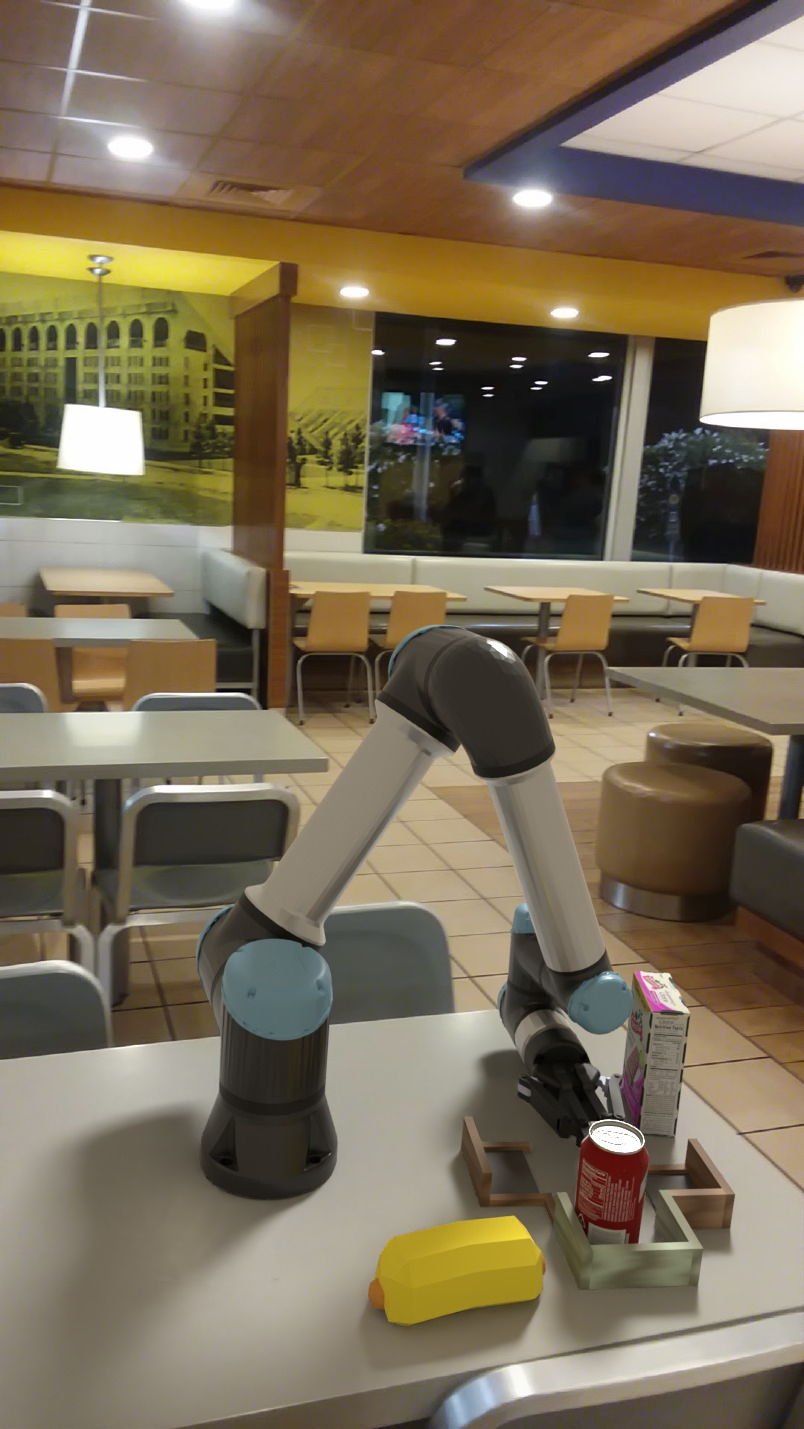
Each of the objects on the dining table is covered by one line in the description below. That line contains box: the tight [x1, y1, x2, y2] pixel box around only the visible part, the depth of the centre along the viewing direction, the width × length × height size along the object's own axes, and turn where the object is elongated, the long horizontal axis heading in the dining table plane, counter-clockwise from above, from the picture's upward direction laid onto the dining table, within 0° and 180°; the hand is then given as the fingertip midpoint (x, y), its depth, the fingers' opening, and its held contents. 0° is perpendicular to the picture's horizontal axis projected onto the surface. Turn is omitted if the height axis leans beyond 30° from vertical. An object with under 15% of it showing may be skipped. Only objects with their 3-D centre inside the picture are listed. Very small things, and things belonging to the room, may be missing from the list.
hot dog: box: [367, 1215, 547, 1327], centre depth 100 cm, size 18×7×8 cm
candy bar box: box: [621, 970, 691, 1138], centre depth 133 cm, size 11×5×16 cm, turn 179°
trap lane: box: [460, 1116, 736, 1291], centre depth 114 cm, size 26×23×4 cm
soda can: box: [573, 1120, 650, 1245], centre depth 108 cm, size 7×7×12 cm
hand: (615, 1168), depth 111 cm, fingers closed
